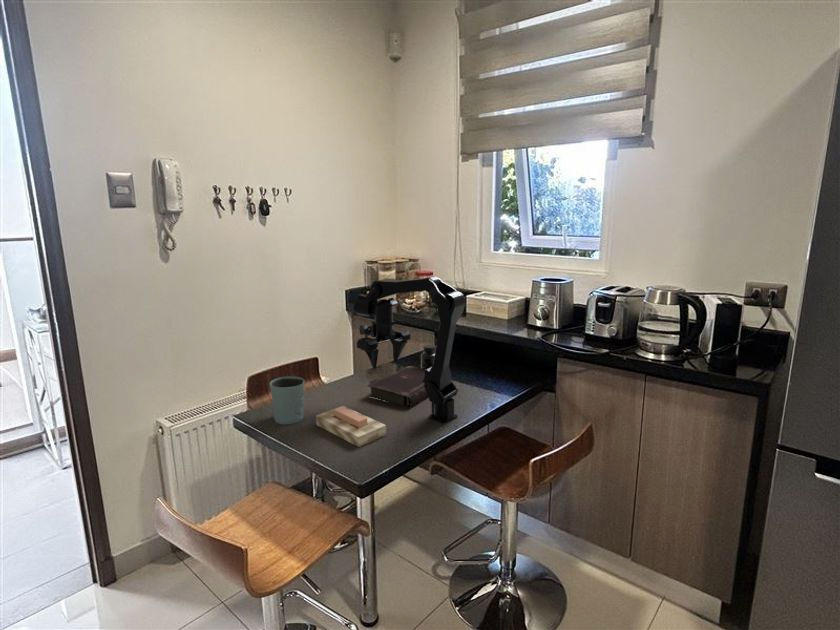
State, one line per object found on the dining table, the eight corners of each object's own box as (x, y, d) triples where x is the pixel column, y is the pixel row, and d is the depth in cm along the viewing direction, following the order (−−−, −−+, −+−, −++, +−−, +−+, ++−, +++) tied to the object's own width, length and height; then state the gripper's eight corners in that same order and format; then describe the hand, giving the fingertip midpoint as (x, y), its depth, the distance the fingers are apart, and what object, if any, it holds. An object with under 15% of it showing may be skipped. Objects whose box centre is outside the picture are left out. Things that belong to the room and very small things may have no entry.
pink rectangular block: (367, 434, 141) (367, 418, 140) (359, 437, 139) (358, 421, 138) (342, 421, 149) (341, 406, 148) (334, 425, 147) (333, 409, 146)
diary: (448, 386, 179) (448, 373, 178) (411, 411, 159) (411, 396, 157) (405, 376, 189) (405, 364, 188) (365, 398, 168) (365, 384, 167)
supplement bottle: (441, 378, 185) (441, 347, 183) (424, 380, 183) (423, 349, 181) (435, 372, 192) (435, 343, 189) (418, 374, 190) (418, 344, 187)
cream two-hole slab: (386, 434, 141) (385, 425, 140) (358, 447, 134) (358, 436, 133) (343, 414, 154) (343, 405, 154) (316, 424, 147) (316, 415, 147)
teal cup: (266, 418, 152) (263, 382, 149) (294, 408, 159) (292, 373, 156) (284, 428, 145) (281, 390, 142) (313, 417, 152) (311, 381, 150)
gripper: (388, 310, 170) (389, 353, 173) (345, 319, 157) (347, 366, 160) (411, 314, 162) (411, 360, 166) (367, 325, 149) (369, 373, 152)
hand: (384, 364), depth 161 cm, fingers open, 9 cm apart
